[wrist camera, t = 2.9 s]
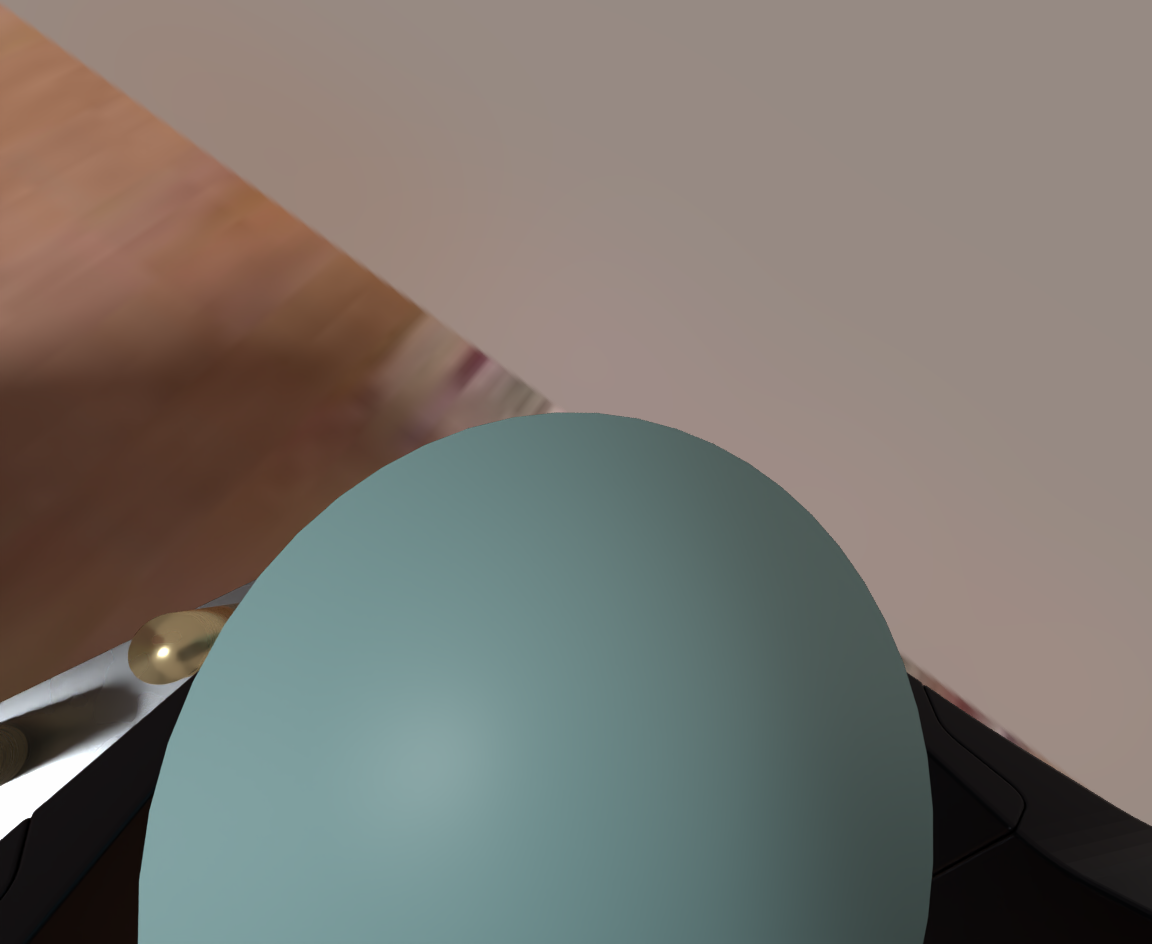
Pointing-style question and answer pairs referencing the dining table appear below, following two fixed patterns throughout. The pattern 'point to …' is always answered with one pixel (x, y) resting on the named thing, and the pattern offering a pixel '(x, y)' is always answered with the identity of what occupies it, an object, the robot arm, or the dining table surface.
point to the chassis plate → (98, 704)
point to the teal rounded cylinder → (548, 715)
